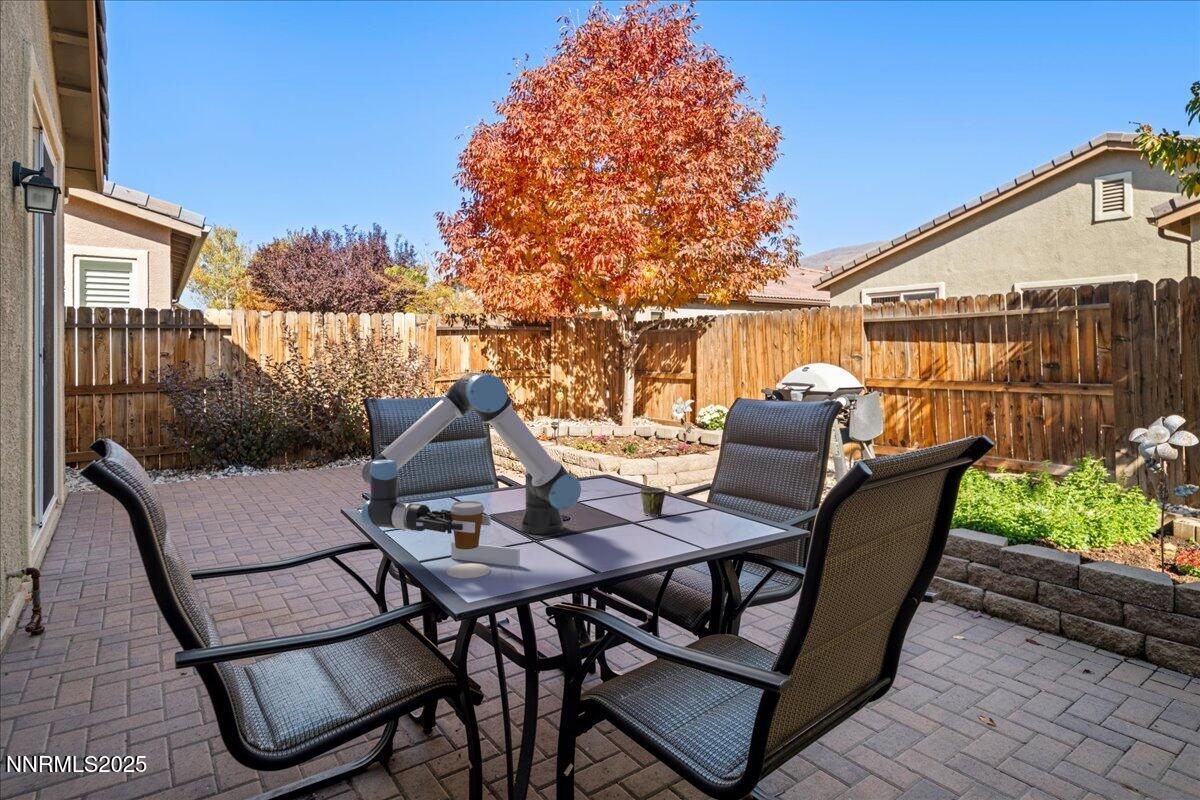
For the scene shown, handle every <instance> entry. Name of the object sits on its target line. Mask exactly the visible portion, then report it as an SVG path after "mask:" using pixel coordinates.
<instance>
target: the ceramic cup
mask: <svg viewBox="0 0 1200 800" xmlns="http://www.w3.org/2000/svg"><path fill="white" fill-rule="evenodd" d="M666 490H667V489H665V488H663V487H658V486H657V487H655V486H654V487H652V486H646V487H641V488H640V489H639V493H640V498H641V499H640V500H641V503H642V508H643V509H642V510H643V516H645V515H648V516H647V517H649V516H657V515H661V516H662V513H663V512H662V511H663V506H664V500H665V497H666V492H667V491H666Z"/></svg>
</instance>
